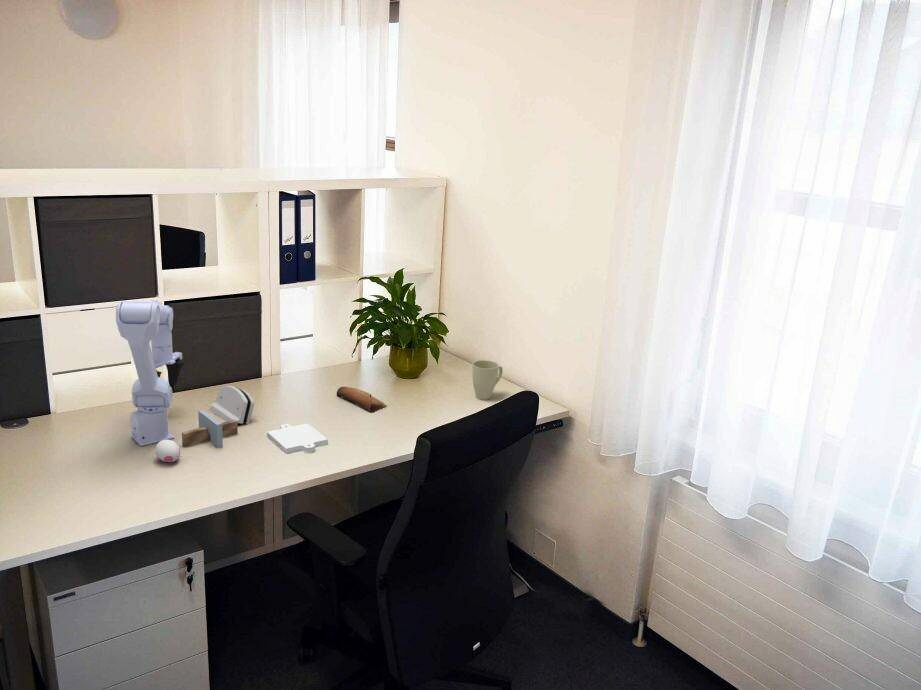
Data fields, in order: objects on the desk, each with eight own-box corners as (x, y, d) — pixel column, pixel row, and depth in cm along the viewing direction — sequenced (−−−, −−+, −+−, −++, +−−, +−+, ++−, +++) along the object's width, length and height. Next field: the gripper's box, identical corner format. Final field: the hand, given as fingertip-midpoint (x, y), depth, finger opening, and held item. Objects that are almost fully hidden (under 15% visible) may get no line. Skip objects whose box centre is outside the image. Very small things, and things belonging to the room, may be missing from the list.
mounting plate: (331, 448, 223) (331, 442, 223) (290, 458, 216) (290, 452, 215) (303, 426, 237) (303, 420, 236) (263, 434, 229) (263, 428, 229)
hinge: (208, 409, 243) (217, 379, 242) (222, 411, 246) (231, 381, 246) (234, 427, 231) (244, 396, 231) (248, 429, 235) (258, 397, 234)
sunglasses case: (390, 406, 254) (383, 392, 250) (375, 421, 251) (368, 407, 247) (355, 390, 266) (348, 376, 262) (341, 404, 263) (333, 390, 259)
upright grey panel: (217, 447, 218) (216, 424, 216) (199, 432, 227) (198, 410, 224) (222, 446, 219) (222, 423, 217) (204, 431, 227) (203, 409, 225)
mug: (497, 403, 263) (500, 370, 260) (468, 400, 265) (470, 367, 261) (500, 392, 274) (503, 360, 270) (473, 389, 275) (475, 357, 271)
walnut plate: (184, 447, 217) (183, 434, 216) (182, 445, 218) (181, 432, 217) (237, 433, 228) (237, 421, 226) (235, 432, 229) (235, 419, 227)
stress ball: (181, 474, 209) (194, 453, 210) (155, 465, 203) (169, 443, 204) (169, 462, 214) (182, 441, 215) (145, 454, 208) (158, 432, 209)
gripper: (154, 353, 221) (157, 398, 225) (189, 340, 234) (191, 383, 238) (135, 349, 223) (138, 393, 227) (170, 336, 236) (172, 378, 240)
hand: (164, 387), depth 233 cm, fingers open, 7 cm apart
